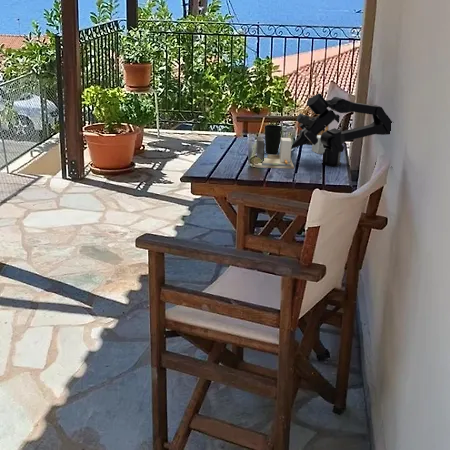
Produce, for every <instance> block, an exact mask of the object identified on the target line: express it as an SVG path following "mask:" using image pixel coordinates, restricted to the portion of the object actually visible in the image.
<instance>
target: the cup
mask: <svg viewBox="0 0 450 450" xmlns="http://www.w3.org/2000/svg"><path fill="white" fill-rule="evenodd" d="M282 130H283V126H282V125H278V124H265V125H264V143H265V149H264V153H265V152H266V153H267V155H279V151H280V141H281V138H282ZM266 153H265V154H266Z"/></svg>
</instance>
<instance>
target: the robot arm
mask: <svg viewBox="0 0 450 450" xmlns="http://www.w3.org/2000/svg"><path fill="white" fill-rule="evenodd" d="M323 96H324V95H322V94H321V93H319V92H318V93H317V94H315V95H313V96H311V97H310V98H309V99H308V100H307V102H306V105H307V106H308V107H309V109H310V110H311V111H312V112H313V113H314V115H317V116H316V117H312V118H310V116H309V115H307V114H303V113H301V112H300V113H298V116H297V117H296V119H295V120H296V122H297V123H299V125H298V126H299V135H298V137H297V138H296V140H295V141H294V142H293V143H292V145H291V148H294V149H295V148H298V147H301V146H302V147H303V146H304V145H307V144H308V143H311V142H312V143H313V144H314V145H315V144H316V143H318V138H317V135H318V134H319V133H320V132H321V131H322V130H323V131H324V130H325V129H326V127H327V126H328V127H329V125H330V124H332V122H334V121H336V122H337V123H338V124H339V123H340V117H341V116H340V114H348V113H359V114H365V115H371V116H372V119H373V122H372V123H370V124H367V125H363V126H360V127H359V126H358V127H356V128H354V127H353V128H350V129H345V130H340V129H337V128H335V127H334V128H332V129H328V130H326V131H327V132H324V133H322V135H321V138H320V140H321V143H322V144H323V147H324V148H326V149H325V152H324V153H323V154H322V160H321V161H322V163H321V165H326V166H330V167H338V166H340V165H341V164H342V162H341V158H342V156H341V155H342V154H341V153H343V152H344V150H345V146H344V145H343V144H344V143H345V142H349V141H353V140H356V139H361V138H364V137H371V136H373V135H381V136H382V135H383V136H384V135H385V136H386V135H391V134H390V131H391V123H392V122H393V121H392V119H391V118H390V117H389V115H388V114H387V112H385V109H384V108H383V106H379V105H377V104H366V103H362V102H361V103H360V102H354V101H351V100H348V99H344V98H342V97H338V96H333V97H332V98H331V99H328V100H326V99H325V98H324V97H323ZM336 112H337V113H338V114H337V113H336ZM339 113H340V114H339ZM300 128H301V129H300ZM324 128H325V129H324Z"/></svg>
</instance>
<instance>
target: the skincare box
mask: <svg viewBox="0 0 450 450" xmlns="http://www.w3.org/2000/svg"><path fill="white" fill-rule="evenodd" d="M317 138H318V143H316V144H315V145H314V144H312V145H311V152H313V153H316V154H319V155H321V154H322V155H323V153H324V152H325V149H326V148H324V147H323V144H322V143H321V140H320V138H321V135H317Z"/></svg>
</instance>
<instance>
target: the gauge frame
mask: <svg viewBox="0 0 450 450" xmlns="http://www.w3.org/2000/svg"><path fill="white" fill-rule="evenodd" d="M256 142H257V148H256V147H255V154H256V153H257V157H259V158H260V159H261V160H262V163H258V164H255V163H254V162H253V167H254V168H260V169H261V168H262V169H263V168H264V169H265V168H266V169H289V170H290V169H292V170H294V169H295V166H294V163H293V161H292V157H291V158H290V162H288V164H285V162H280V159H279V155H280V154H275V155H271V154H267V155H266V156H267V157H265V139H264V136H256ZM263 158H264V161H263Z"/></svg>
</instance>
